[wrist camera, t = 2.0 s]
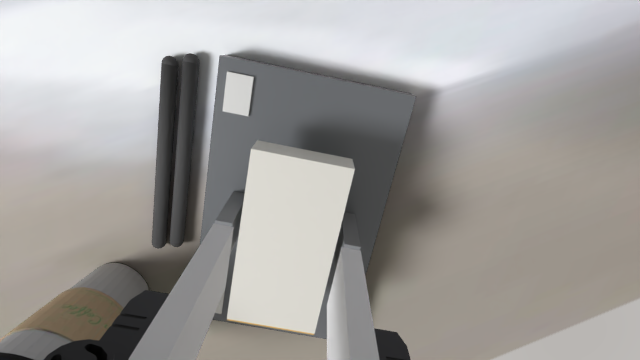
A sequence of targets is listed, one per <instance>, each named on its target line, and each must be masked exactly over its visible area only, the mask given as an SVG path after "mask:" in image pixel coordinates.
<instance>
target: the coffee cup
mask: <svg viewBox="0 0 640 360" xmlns="http://www.w3.org/2000/svg"><path fill="white" fill-rule="evenodd" d="M145 290H149V289H148V285H147V283H146V282H145V280H144V279H143V277H142V276H141V275H140V274H139V273H138V272H136V271H135V270H134V269H132V268H130V267H128V266H126V265H123V264H120V263H108V264H104V265H102V266H100V267H98V268H97V269H95V270H94V271H93V272H91V273H90V274H89V275H87V276H86V277H85V278H84V279H82V280H81V281H80V282H78V283H77V284H76V285H74V286H73V287H72V288H70V289H69V290H66V291H64V292H62V293H61V294H59V295H58V296H57V297H56V298H54V299H53V300H52V301H50V302H49V303H48V304H46V305H45V306H44V307H42V308H41V309H40V310H38V311H37V312H36V313H34V314H33V315H32V316H30V317H29V318H28V319H26V320H25V321H24V322H22V323H21V324H20V325H18V326H17V327H16V328H14V329H13V330H12V331H10V332H9V333H8V334H7V335H5V336H4V337H3V338H1V339H0V360H44V359H45V358H46V356H47V355H48V354H49V353H51V352H52V351H54V350H56V349H57V348H59V347H60V346H62V345H65V344H68V343H71V342H73V341H78V340H86V339H92V340H98V341H99V340H100V339H101V337H102V336H103V335H104V333H105V332H106V331H107V329H108V328H109V327H110V326H112V323H113V322H114V320H115V319H116V318H117V316H118V315H120V313H121V311H122V310H123V309H124V307H125V306H126V305H127V303H128V302H129V301H130V300H131V299H132V298H134V297H135V296H137V295H139V294H140V293H142V292H143V291H145Z"/></svg>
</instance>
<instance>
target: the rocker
mask: <svg viewBox="0 0 640 360" xmlns="http://www.w3.org/2000/svg"><path fill="white" fill-rule="evenodd" d="M354 171H355V168H354V163H353V159H350V158H345V157H340V156H335V155H330V154H325V153H320V152H315V151H310V150H305V149H300V148H295V147H290V146H284V145H279V144H274V143H269V142H264V141H259V140H257V141H256V143H255V144H254V145H253V147H252V148H251V152H250V159H249V166H248V173H247V180H246V187H245V194H244V201H243V208H242V215H241V222H240V229H239V236H238V243H237V250H236V257H235V264H234V271H233V278H232V285H231V292H230V299H229V306H228V313H227V320H229V321H235V322H241V323H247V324H252V325H258V326H264V327H270V328H276V329H282V330H288V331H293V332H299V333H305V334H311V335H314V334H315V330H316V326H317V322H318V318H319V314H320V310H321V305H322V301H323V297H324V293H325V289H326V285H327V281H328V277H329V273H330V269H331V265H332V260H333V256H334V252H335V248H336V244H337V240H338V236H339V232H340V228H341V224H342V220H343V216H344V211H345V207H346V203H347V199H348V195H349V191H350V187H351V183H352V179H353V175H354Z"/></svg>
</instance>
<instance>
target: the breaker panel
mask: <svg viewBox="0 0 640 360" xmlns="http://www.w3.org/2000/svg"><path fill="white" fill-rule="evenodd" d="M415 99H416V96H414V95H412V94H411V93H406V92H401V91H396V90H392V89H387V88H382V87H377V86H372V85H368V84H363V83H358V82H353V81H349V80H344V79H339V78H334V77H329V76H325V75H320V74H315V73H310V72H306V71H301V70H296V69H291V68H286V67H282V66H277V65H272V64H267V63H263V62H258V61H253V60H248V59H243V58H239V57H234V56H229V55H221V56H220V57H219V67H218V76H217V86H216V96H215V105H214V115H213V124H212V134H211V143H210V153H209V163H208V172H207V182H206V191H205V201H204V210H203V220H202V230H201V239H200V244H201V243H202V241H203V240H204V238H205V236H206V235H207V233H208V232H209V230H210V229H211V227H212V225H213V224H219V225H224V226H230V227H234V229H233V236H232V244H231V251H230V258H229V266H228V273H227V280H226V287H225V290H224V292H223V295H222V297H221V300H220V302H219V304H218V307H217V309H216V312H215V314H214V317H213V319H212V320H218V321H224V322H229V323H235V324H241V325H247V326H253V327H259V328H265V329H270V330H276V331H282V332H288V333H294V334H300V335H306V336H311V337H317V338H323V339H327V303H328V299H329V295H330V291H331V287H332V283H333V279H334V275H335V271H336V267H337V263H338V259H339V255H340V251H341V247H343V248H349V249H354V250H359V251H361V255H362V261H363V266H364V272H365V275H366V272H367V268H368V265H369V261H370V258H371V254H372V251H373V247H374V244H375V240H376V237H377V233H378V230H379V226H380V223H381V219H382V216H383V212H384V208H385V205H386V201H387V198H388V194H389V191H390V187H391V184H392V180H393V177H394V173H395V170H396V166H397V163H398V159H399V156H400V152H401V149H402V145H403V141H404V138H405V134H406V131H407V127H408V124H409V120H410V117H411V113H412V110H413V106H414V103H415ZM257 140H259V141H264V142H269V143H274V144H279V145H284V146H290V147H295V148H300V149H305V150H310V151H315V152H320V153H325V154H330V155H335V156H340V157H345V158H350V159H353V163H354V168H355V171H354V175H353V179H352V183H351V187H350V191H349V195H348V199H347V203H346V207H345V211H344V216H343V220H342V224H341V228H340V232H339V236H338V240H337V244H336V248H335V252H334V256H333V260H332V265H331V269H330V273H329V277H328V281H327V285H326V289H325V293H324V297H323V301H322V305H321V310H320V314H319V318H318V322H317V326H316V330H315V334H314V335H311V334H305V333H299V332H293V331H288V330H282V329H276V328H270V327H264V326H258V325H252V324H247V323H241V322H235V321H229V320H227V313H228V306H229V299H230V292H231V285H232V278H233V271H234V264H235V257H236V250H237V243H238V236H239V229H240V222H241V215H242V208H243V201H244V194H245V187H246V180H247V173H248V166H249V159H250V152H251V148H252V147H253V145H254V144H255V143H256V141H257Z"/></svg>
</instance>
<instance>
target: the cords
mask: <svg viewBox="0 0 640 360" xmlns="http://www.w3.org/2000/svg"><path fill="white" fill-rule="evenodd" d="M198 71H199V59H198V57H197V56H196V55H194V54H187V55H185V56H184V58H183V66H182V80H181V94H180V107H179V121H178V134H177V148H176V162H175V175H174V189H173V203H172V216H171V230H170V244H171V245H172V246H174V247H179V246H181V245H182V244H183V241H184V231H185V219H186V208H187V197H188V185H189V174H190V162H191V151H192V139H193V128H194V117H195V105H196V94H197V82H198ZM177 77H178V61H177V60H176V59H175V58H174V57H172V56H166V57H165V58H163V60H162V67H161V86H160V104H159V122H158V140H157V158H156V176H155V195H154V213H153V231H152V245H153V246H154V247H155V248H162V247H164V246H165V244H166V235H167V221H168V206H169V192H170V177H171V163H172V149H173V134H174V120H175V106H176V91H177Z"/></svg>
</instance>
